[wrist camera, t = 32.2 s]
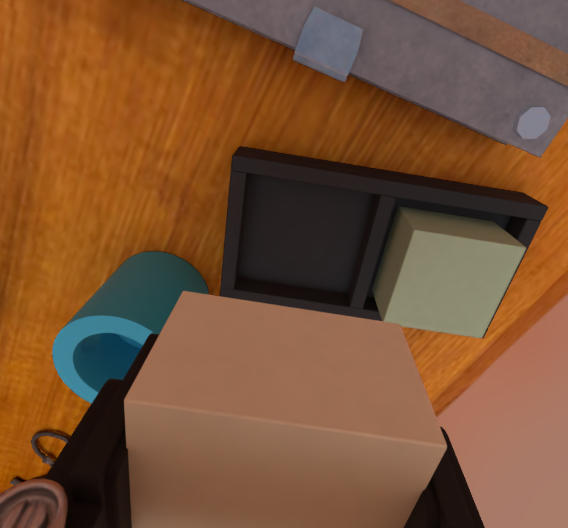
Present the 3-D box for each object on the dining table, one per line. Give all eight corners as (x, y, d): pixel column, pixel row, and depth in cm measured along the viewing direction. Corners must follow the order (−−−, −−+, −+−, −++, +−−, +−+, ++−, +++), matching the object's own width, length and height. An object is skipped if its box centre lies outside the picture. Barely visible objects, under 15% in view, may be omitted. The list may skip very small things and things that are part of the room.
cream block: (182, 289, 10) (122, 399, 6) (400, 322, 10) (449, 447, 7) (177, 439, 12) (131, 572, 9) (349, 463, 12) (367, 602, 9)
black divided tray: (226, 278, 25) (219, 298, 23) (239, 145, 21) (232, 154, 19) (467, 315, 26) (483, 338, 23) (524, 192, 22) (549, 206, 20)
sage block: (397, 205, 21) (414, 229, 18) (493, 220, 22) (527, 247, 18) (371, 289, 24) (382, 324, 21) (458, 303, 24) (482, 339, 21)
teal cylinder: (220, 270, 25) (192, 339, 18) (180, 395, 30) (148, 482, 24) (121, 237, 24) (57, 298, 18) (98, 371, 29) (42, 455, 23)
